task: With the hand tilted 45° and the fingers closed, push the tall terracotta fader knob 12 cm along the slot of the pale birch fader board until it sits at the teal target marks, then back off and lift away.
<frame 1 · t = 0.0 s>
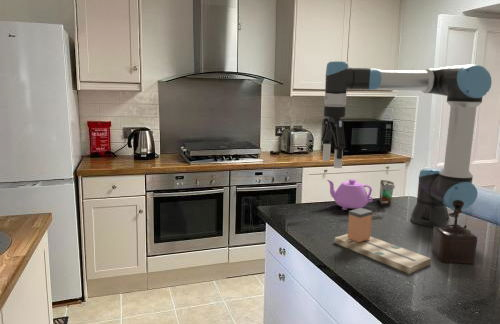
hand: (331, 164, 148), 28 cm above the counter, tool pointing down, fingers open, 13 cm apart
fader board: (379, 252, 138), on the counter
food container: (386, 202, 201), on the counter
coffee grinder: (449, 255, 138), on the counter
fader knob: (359, 224, 144), point 8 cm above the counter, slide at 0.0 cm
teapot: (348, 208, 190), on the counter
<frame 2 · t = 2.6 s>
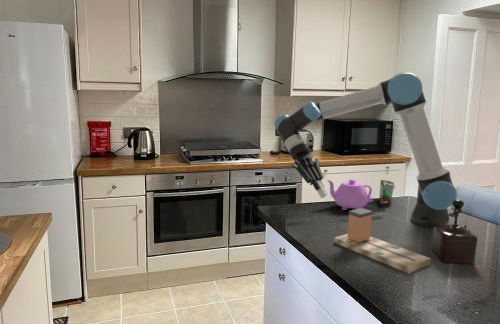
hand: (324, 196, 156), 14 cm above the counter, tool tilted 45°, fingers closed
nothing on the counter moved.
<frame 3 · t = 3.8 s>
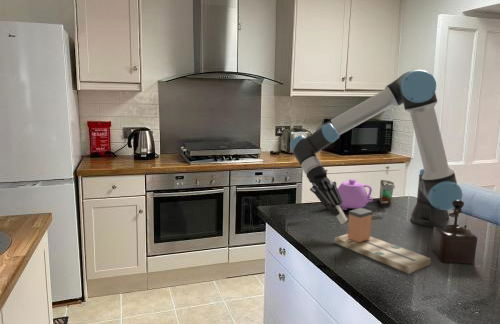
hand: (344, 221, 150), 7 cm above the counter, tool tilted 45°, fingers closed
nothing on the counter moved.
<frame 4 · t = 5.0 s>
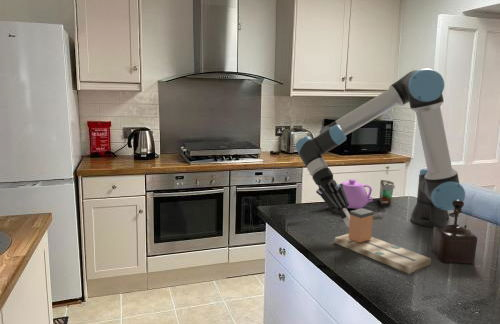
hand: (351, 225, 146), 6 cm above the counter, tool tilted 45°, fingers closed
fader knob: (360, 225, 144), point 8 cm above the counter, slide at 0.4 cm, touching gripper
everything else where it was.
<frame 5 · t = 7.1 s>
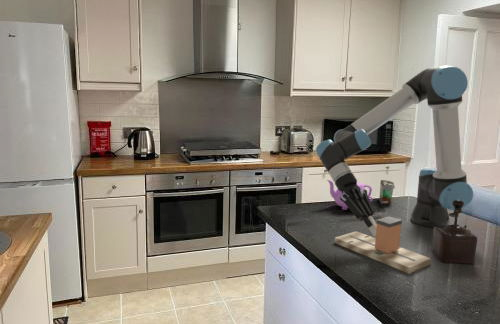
hand: (377, 234, 138), 7 cm above the counter, tool tilted 45°, fingers closed
fader knob: (388, 234, 135), point 8 cm above the counter, slide at 11.7 cm, touching gripper
everything else where it was.
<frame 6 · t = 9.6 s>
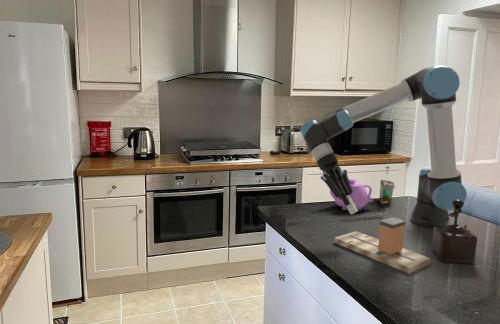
hand: (354, 212, 146), 11 cm above the counter, tool tilted 40°, fingers closed
fader knob: (391, 235, 134), point 8 cm above the counter, slide at 12.9 cm
everything else where it was.
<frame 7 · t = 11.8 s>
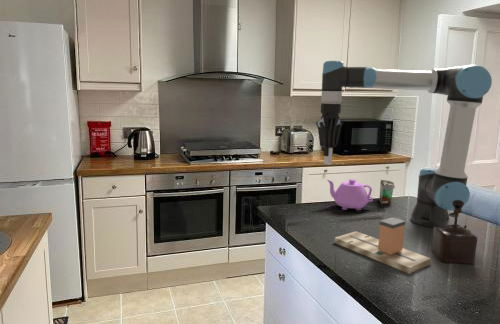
hand: (327, 164, 156), 26 cm above the counter, tool pointing down, fingers closed
nothing on the counter moved.
at the end: fader knob slide at 12.9 cm; teapot moved 0.3 cm from its start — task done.
